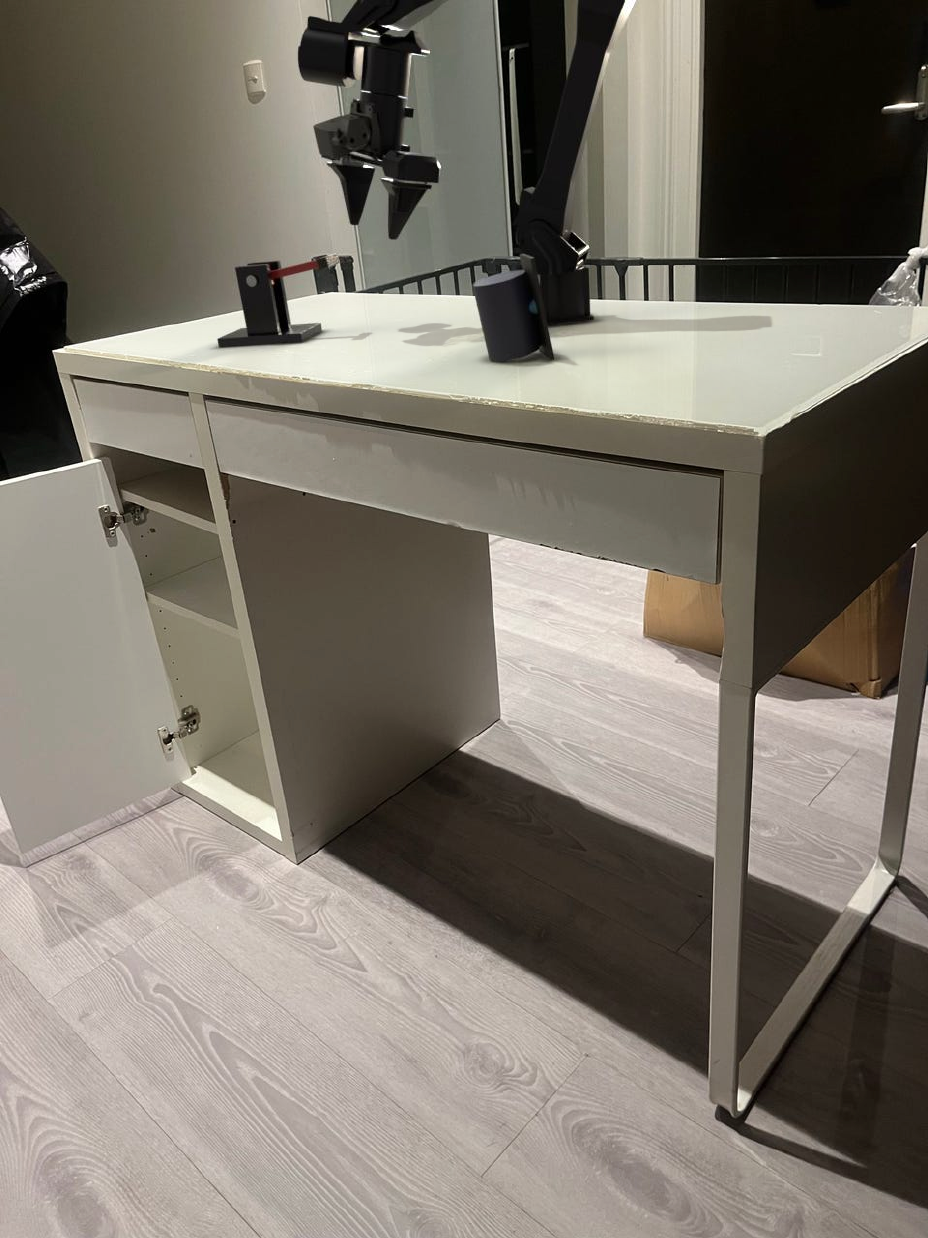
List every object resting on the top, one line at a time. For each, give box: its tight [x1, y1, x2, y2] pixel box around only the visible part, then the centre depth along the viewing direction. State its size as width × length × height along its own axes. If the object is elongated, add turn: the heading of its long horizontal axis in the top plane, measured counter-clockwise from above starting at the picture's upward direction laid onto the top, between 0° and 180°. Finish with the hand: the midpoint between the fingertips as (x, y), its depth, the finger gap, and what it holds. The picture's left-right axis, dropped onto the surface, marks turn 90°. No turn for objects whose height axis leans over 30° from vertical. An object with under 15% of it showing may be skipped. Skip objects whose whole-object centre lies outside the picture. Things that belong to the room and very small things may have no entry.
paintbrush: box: [269, 252, 341, 285], centre depth 122 cm, size 12×5×2 cm, turn 79°
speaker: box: [472, 253, 555, 363], centre depth 98 cm, size 8×6×10 cm
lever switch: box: [216, 260, 323, 349], centre depth 124 cm, size 12×8×10 cm, turn 79°
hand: (372, 231), depth 119 cm, fingers open, 9 cm apart
